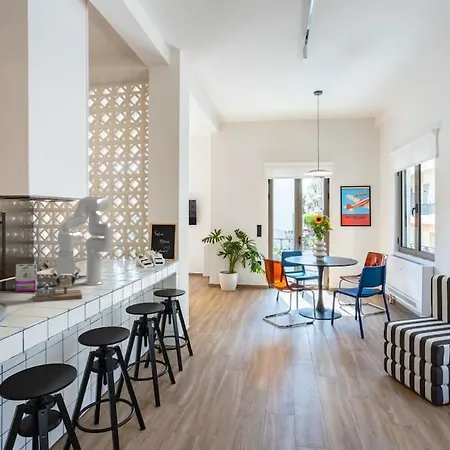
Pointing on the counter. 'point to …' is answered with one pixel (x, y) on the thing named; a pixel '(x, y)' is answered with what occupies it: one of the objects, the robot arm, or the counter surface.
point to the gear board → (56, 294)
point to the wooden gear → (65, 283)
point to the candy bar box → (26, 277)
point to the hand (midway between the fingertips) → (65, 283)
